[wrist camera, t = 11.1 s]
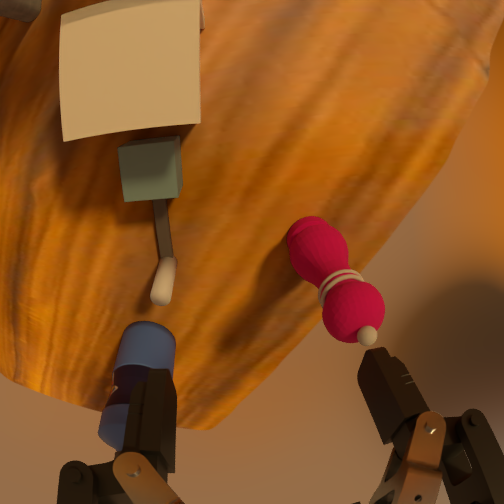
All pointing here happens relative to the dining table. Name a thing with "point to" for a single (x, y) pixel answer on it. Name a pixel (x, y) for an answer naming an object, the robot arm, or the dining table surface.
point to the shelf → (129, 66)
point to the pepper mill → (335, 281)
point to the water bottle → (134, 374)
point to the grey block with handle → (155, 196)
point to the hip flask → (20, 9)
